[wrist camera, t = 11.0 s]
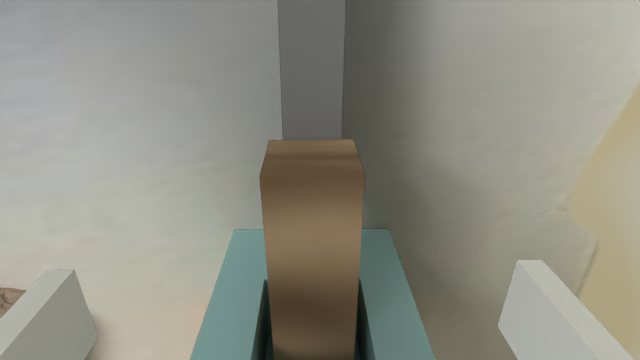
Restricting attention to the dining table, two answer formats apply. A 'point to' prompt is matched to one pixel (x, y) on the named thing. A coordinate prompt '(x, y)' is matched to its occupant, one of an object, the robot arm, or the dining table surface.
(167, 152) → the dining table surface
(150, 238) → the dining table surface
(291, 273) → the bar
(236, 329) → the block
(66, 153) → the dining table surface
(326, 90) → the rail
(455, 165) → the dining table surface
